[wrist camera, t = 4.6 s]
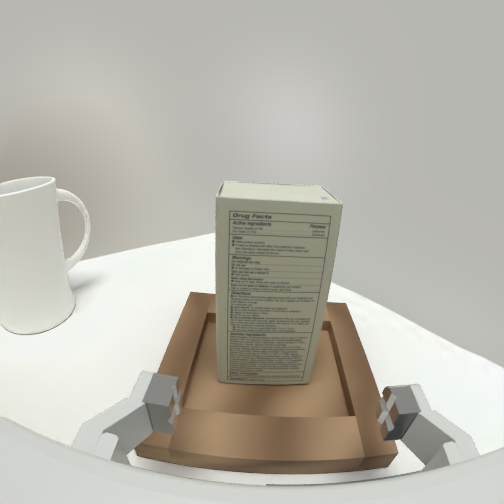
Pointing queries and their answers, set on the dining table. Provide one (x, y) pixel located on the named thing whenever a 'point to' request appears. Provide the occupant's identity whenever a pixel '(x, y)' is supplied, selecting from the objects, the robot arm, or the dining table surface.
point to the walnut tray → (271, 406)
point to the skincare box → (272, 279)
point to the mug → (35, 255)
